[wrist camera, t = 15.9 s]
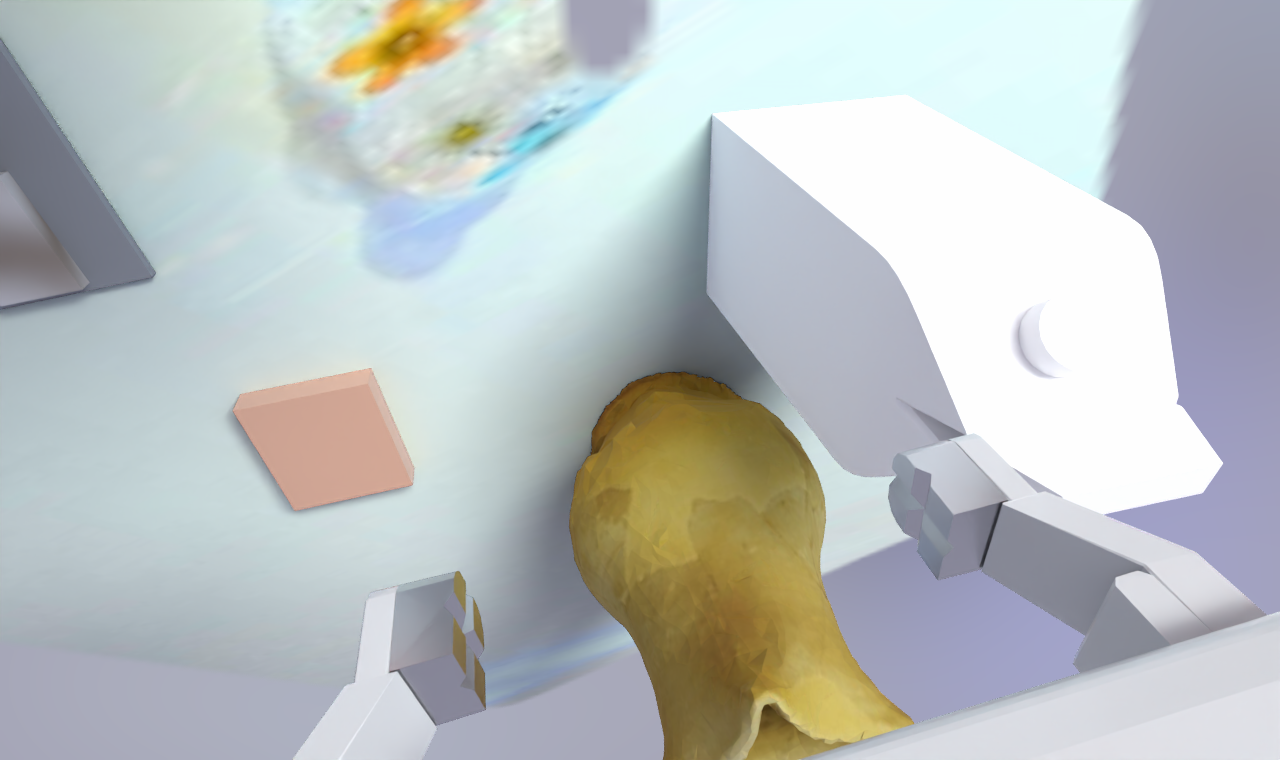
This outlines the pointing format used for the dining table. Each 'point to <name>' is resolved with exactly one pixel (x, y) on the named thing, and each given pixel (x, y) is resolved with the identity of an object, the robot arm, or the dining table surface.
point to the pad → (62, 187)
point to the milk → (947, 300)
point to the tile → (327, 438)
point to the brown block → (31, 251)
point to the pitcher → (720, 574)
